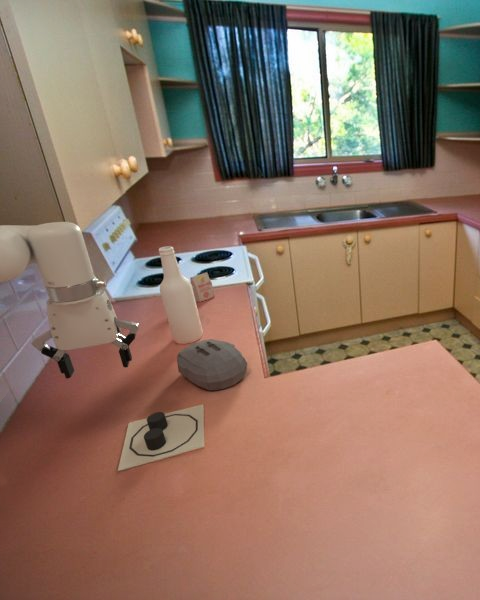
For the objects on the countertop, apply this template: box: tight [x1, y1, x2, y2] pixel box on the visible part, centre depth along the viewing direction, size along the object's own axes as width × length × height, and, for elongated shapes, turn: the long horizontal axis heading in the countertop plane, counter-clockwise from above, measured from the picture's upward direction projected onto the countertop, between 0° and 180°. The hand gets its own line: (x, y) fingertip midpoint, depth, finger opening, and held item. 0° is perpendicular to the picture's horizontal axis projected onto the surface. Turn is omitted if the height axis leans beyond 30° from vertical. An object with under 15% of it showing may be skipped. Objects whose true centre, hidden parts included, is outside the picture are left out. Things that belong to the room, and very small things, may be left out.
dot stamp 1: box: [146, 411, 168, 430], centre depth 96 cm, size 4×4×3 cm
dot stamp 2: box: [144, 428, 166, 451], centre depth 91 cm, size 4×4×3 cm
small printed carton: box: [189, 272, 216, 304], centre depth 164 cm, size 4×7×10 cm, turn 144°
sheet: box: [117, 403, 206, 473], centre depth 94 cm, size 16×16×1 cm
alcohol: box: [158, 245, 204, 345], centre depth 130 cm, size 9×9×30 cm
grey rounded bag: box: [176, 338, 248, 391], centre depth 115 cm, size 15×8×20 cm
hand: (99, 369), depth 85 cm, fingers open, 9 cm apart
